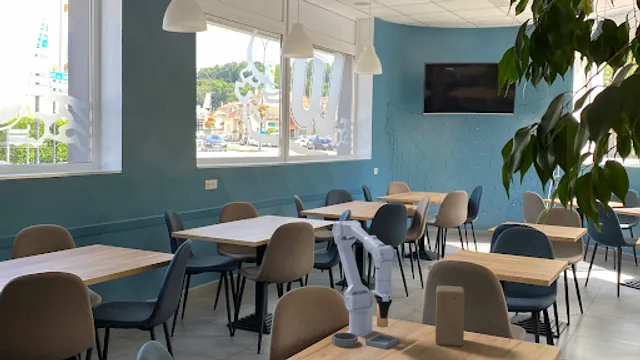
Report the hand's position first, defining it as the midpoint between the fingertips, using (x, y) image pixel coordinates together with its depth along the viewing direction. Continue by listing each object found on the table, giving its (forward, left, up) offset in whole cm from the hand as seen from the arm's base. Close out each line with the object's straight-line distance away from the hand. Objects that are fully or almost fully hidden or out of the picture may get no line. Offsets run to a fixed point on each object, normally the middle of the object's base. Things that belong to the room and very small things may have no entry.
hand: (382, 316), depth 222 cm
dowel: (0, 0, -3) cm, 3 cm away
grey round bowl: (+8, -11, -10) cm, 17 cm away
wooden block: (-18, +18, -11) cm, 27 cm away
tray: (0, 0, -10) cm, 10 cm away
